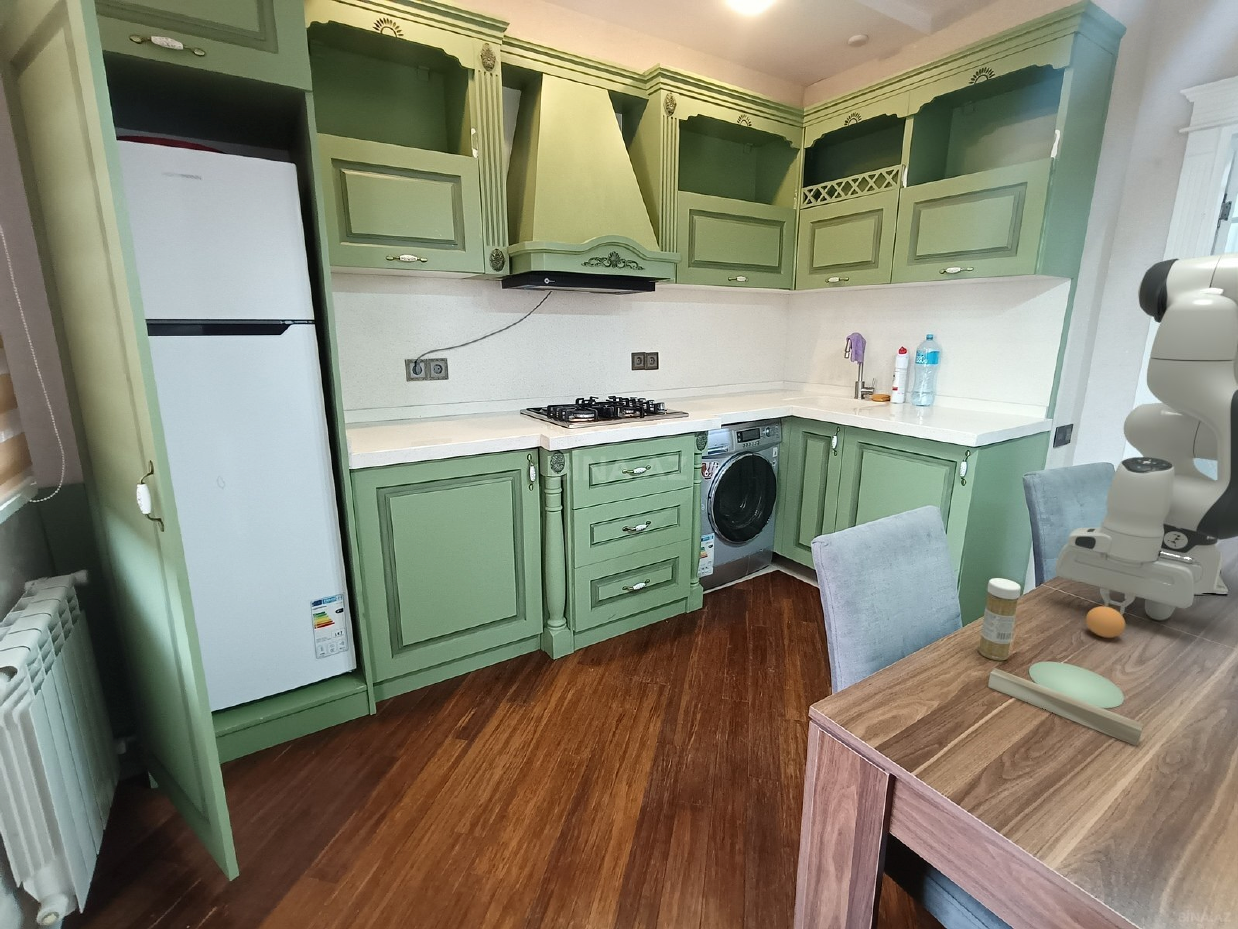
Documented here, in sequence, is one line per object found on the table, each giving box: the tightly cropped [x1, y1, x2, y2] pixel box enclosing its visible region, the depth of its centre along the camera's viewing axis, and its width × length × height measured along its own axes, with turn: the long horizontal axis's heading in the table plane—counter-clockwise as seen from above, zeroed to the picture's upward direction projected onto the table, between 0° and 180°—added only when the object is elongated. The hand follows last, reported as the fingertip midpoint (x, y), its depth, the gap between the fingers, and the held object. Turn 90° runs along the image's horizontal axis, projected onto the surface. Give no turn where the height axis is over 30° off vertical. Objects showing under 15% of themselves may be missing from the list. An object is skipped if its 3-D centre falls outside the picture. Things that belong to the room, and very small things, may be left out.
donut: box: [1144, 599, 1177, 621], centre depth 112 cm, size 10×4×10 cm, turn 124°
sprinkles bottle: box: [977, 577, 1022, 662], centre depth 100 cm, size 5×5×14 cm
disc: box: [1028, 661, 1125, 709], centre depth 93 cm, size 12×12×1 cm
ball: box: [1085, 605, 1126, 639], centre depth 107 cm, size 6×6×6 cm
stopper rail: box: [987, 667, 1144, 747], centre depth 86 cm, size 2×18×2 cm, turn 42°
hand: (1113, 611), depth 113 cm, fingers closed
